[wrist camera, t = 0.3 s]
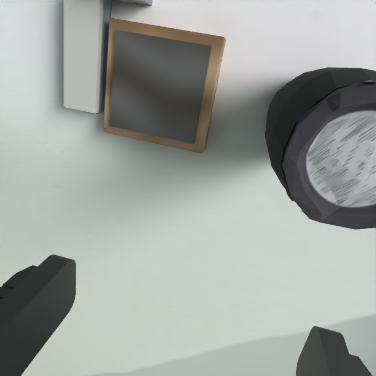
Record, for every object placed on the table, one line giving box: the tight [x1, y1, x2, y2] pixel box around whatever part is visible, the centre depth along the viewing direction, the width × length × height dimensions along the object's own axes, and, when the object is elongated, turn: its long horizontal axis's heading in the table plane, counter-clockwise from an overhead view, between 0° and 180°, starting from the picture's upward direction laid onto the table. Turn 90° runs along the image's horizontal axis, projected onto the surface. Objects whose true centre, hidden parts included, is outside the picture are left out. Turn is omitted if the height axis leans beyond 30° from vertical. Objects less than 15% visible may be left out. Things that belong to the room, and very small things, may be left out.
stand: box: [103, 18, 226, 153], centre depth 33 cm, size 12×12×3 cm
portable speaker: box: [265, 67, 376, 229], centre depth 24 cm, size 9×9×20 cm
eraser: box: [64, 0, 112, 114], centre depth 34 cm, size 12×4×3 cm, turn 171°
